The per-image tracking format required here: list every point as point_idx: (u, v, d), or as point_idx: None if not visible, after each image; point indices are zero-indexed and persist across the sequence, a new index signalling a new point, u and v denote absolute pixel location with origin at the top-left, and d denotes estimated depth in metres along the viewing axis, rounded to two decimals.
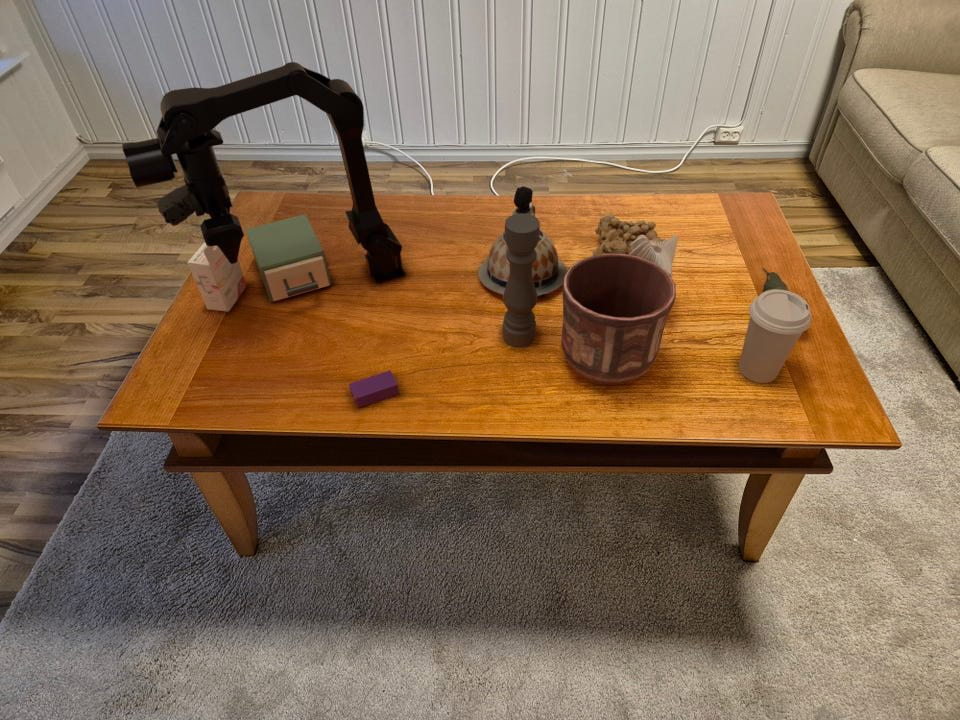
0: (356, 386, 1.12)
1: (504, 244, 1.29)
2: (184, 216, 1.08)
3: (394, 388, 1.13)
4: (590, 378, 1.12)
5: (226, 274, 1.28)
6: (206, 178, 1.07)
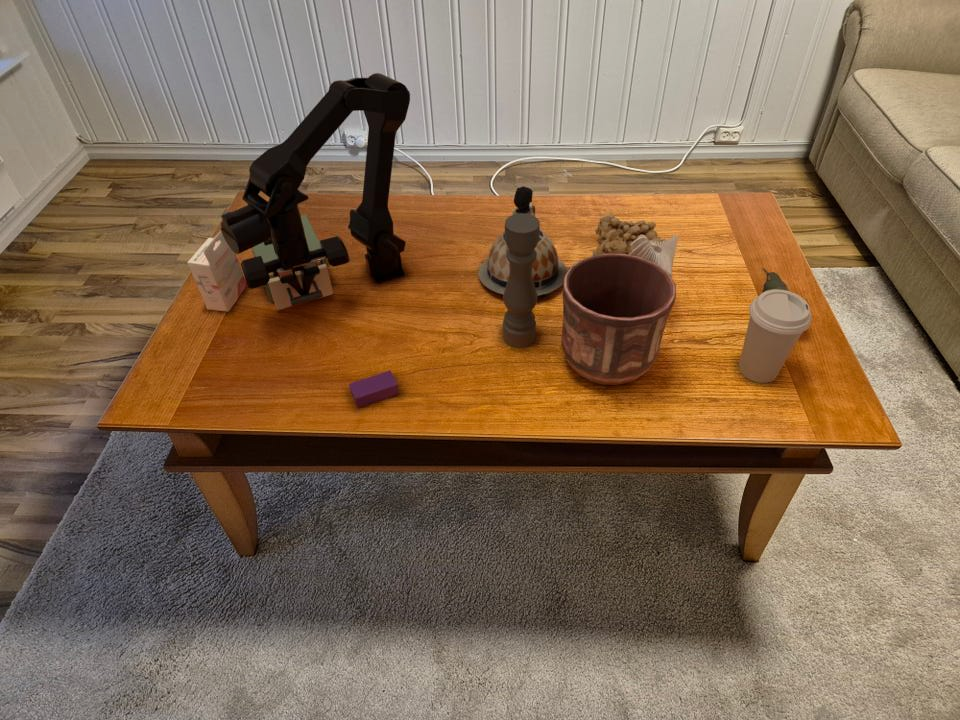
0: (356, 386, 1.12)
1: (504, 244, 1.29)
2: (264, 242, 1.21)
3: (394, 388, 1.13)
4: (590, 378, 1.12)
5: (226, 274, 1.28)
6: (271, 233, 1.14)
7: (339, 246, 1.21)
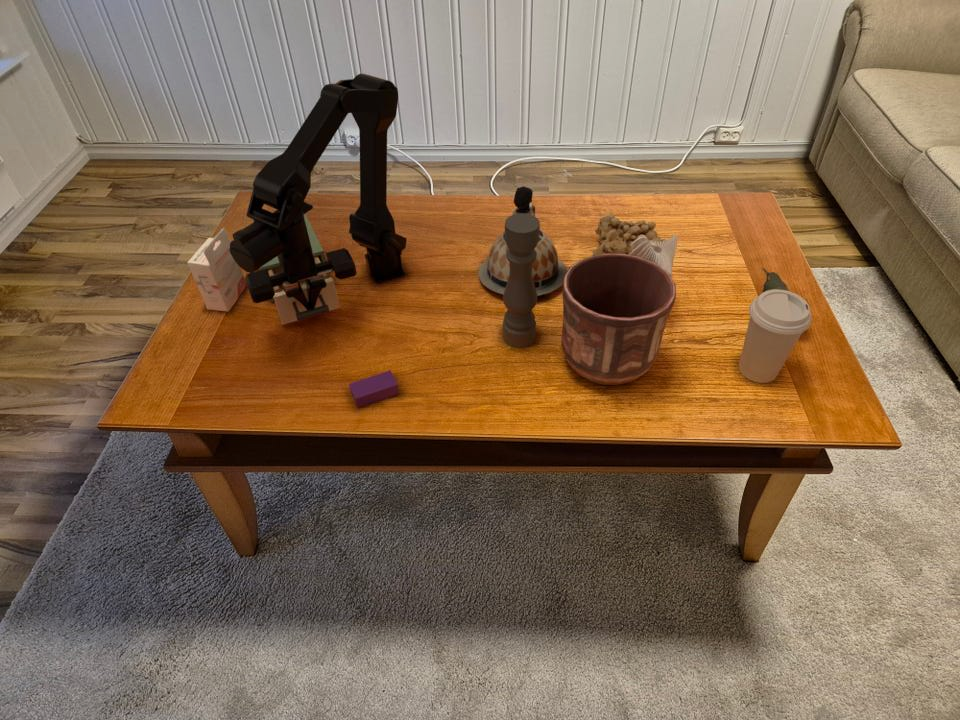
0: (356, 386, 1.12)
1: (504, 244, 1.29)
2: None
3: (394, 388, 1.13)
4: (590, 378, 1.12)
5: (226, 274, 1.28)
6: None
7: (346, 258, 1.18)
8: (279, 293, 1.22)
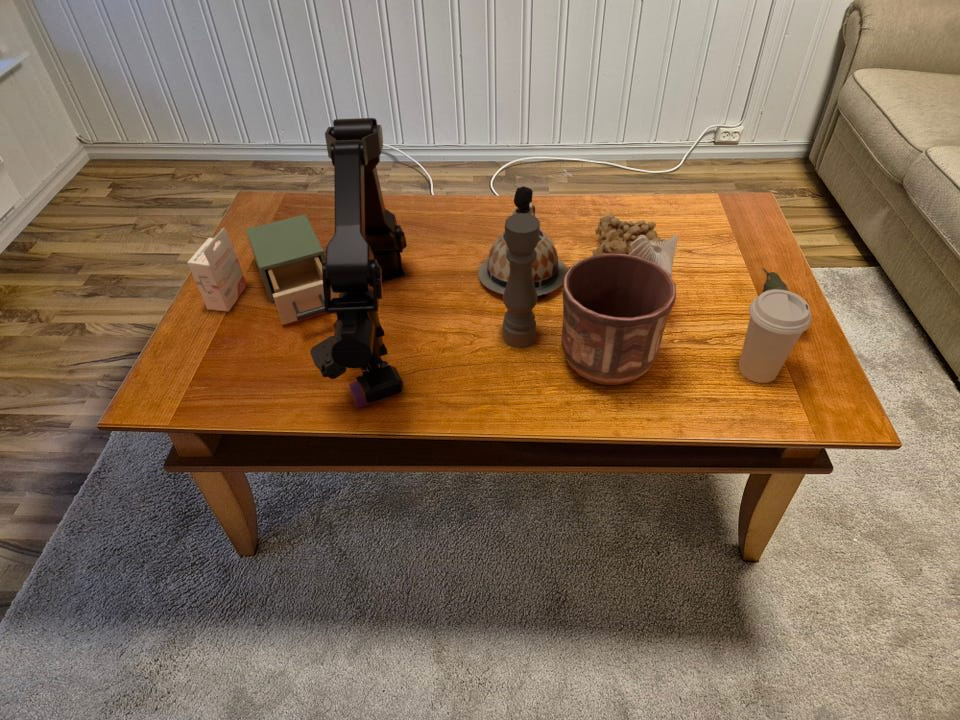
0: (356, 386, 1.12)
1: (504, 244, 1.29)
2: (343, 370, 1.02)
3: None
4: (590, 378, 1.12)
5: (226, 274, 1.28)
6: None
7: None
8: (279, 293, 1.22)
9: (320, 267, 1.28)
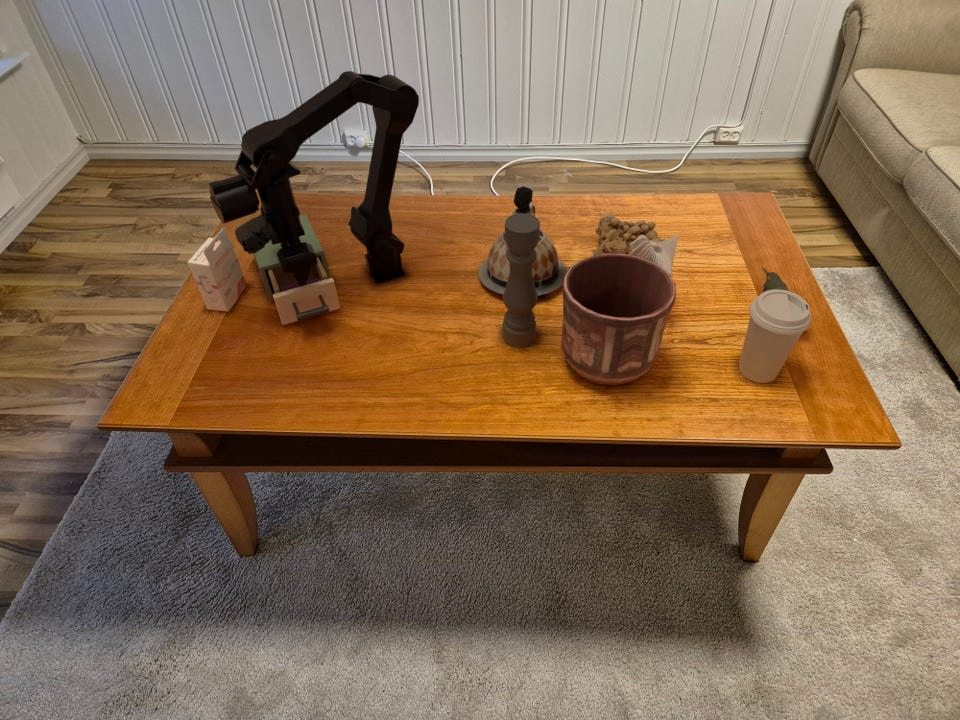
0: (286, 289, 1.28)
1: (504, 244, 1.29)
2: (262, 245, 1.14)
3: None
4: (590, 378, 1.12)
5: (226, 274, 1.28)
6: (283, 209, 1.13)
7: None
8: (279, 294, 1.22)
9: (320, 267, 1.27)
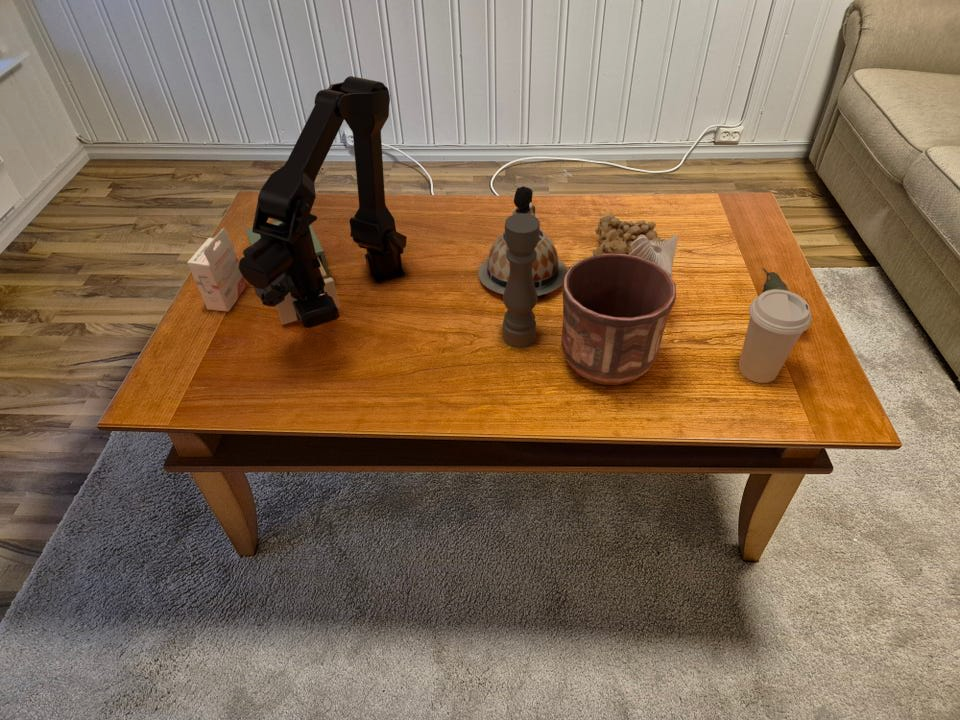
0: None
1: (504, 244, 1.29)
2: (281, 298, 1.10)
3: None
4: (590, 378, 1.12)
5: (226, 274, 1.28)
6: (304, 261, 1.09)
7: None
8: None
9: (320, 267, 1.28)
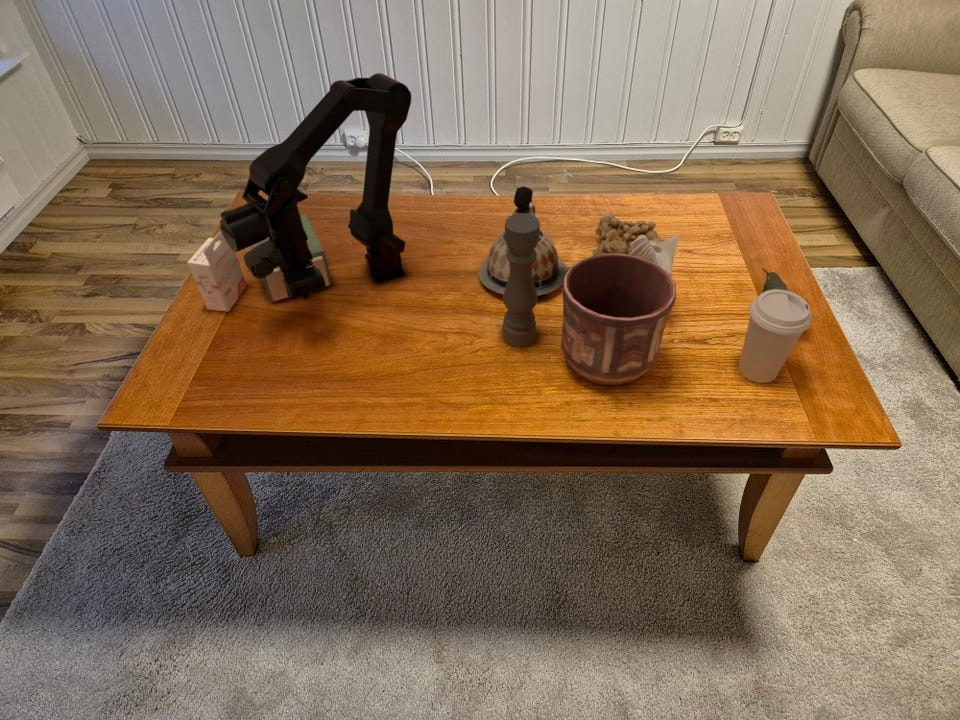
0: None
1: (504, 244, 1.29)
2: (270, 270, 1.15)
3: None
4: (590, 378, 1.12)
5: (226, 274, 1.28)
6: (291, 234, 1.14)
7: None
8: None
9: None
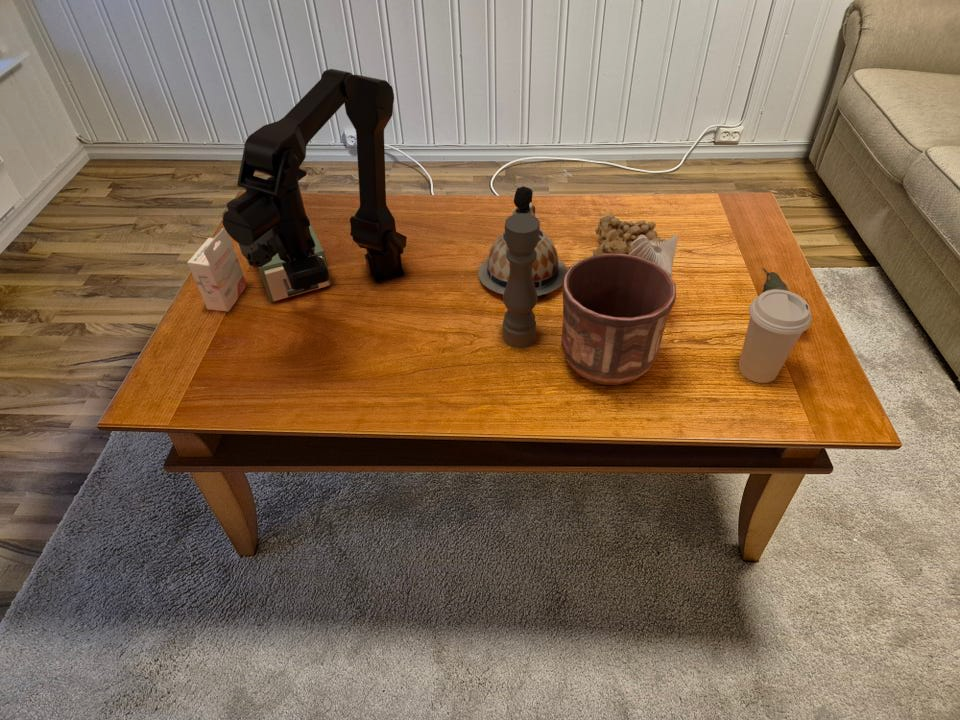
0: None
1: (504, 244, 1.29)
2: (268, 258, 1.04)
3: None
4: (590, 378, 1.12)
5: (226, 274, 1.28)
6: (292, 219, 1.03)
7: None
8: (270, 270, 1.27)
9: None
